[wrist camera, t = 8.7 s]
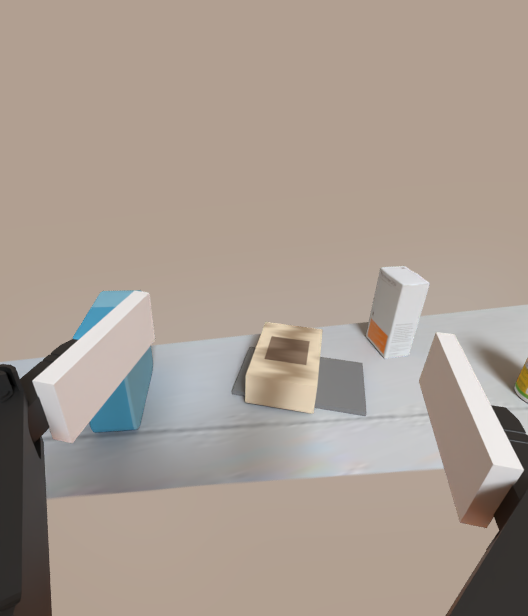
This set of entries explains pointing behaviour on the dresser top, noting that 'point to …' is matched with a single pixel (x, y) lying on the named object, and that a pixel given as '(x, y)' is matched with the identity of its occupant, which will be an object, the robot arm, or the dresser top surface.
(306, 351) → the maple block
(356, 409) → the charcoal mat
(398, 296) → the skincare box
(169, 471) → the dresser top surface
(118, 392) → the data package
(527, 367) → the supplement bottle
